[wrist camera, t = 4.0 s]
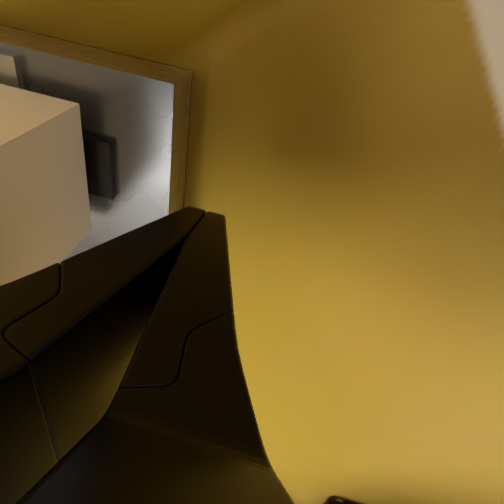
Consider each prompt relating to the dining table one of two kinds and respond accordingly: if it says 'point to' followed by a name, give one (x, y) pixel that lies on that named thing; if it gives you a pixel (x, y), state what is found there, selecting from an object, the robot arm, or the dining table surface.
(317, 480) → the dining table surface
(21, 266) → the block
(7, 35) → the console
